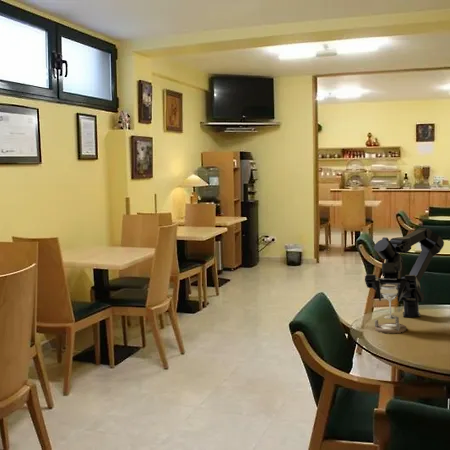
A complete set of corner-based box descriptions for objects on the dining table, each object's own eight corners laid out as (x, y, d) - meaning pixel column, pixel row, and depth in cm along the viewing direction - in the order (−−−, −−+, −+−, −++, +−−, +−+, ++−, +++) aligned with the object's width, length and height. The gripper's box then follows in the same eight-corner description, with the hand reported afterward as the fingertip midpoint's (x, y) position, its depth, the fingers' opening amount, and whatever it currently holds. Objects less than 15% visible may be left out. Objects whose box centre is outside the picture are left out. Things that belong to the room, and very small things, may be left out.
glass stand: (375, 325, 218) (375, 316, 218) (405, 325, 215) (405, 316, 215) (375, 333, 208) (374, 324, 207) (406, 333, 205) (406, 324, 204)
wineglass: (387, 320, 207) (386, 288, 206) (377, 316, 213) (376, 285, 212) (403, 317, 209) (402, 286, 208) (393, 313, 215) (391, 283, 214)
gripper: (364, 253, 217) (359, 288, 208) (415, 253, 209) (412, 289, 200) (369, 270, 224) (365, 304, 216) (418, 270, 216) (416, 305, 207)
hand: (389, 300), depth 209 cm, fingers closed on wineglass, 6 cm apart
